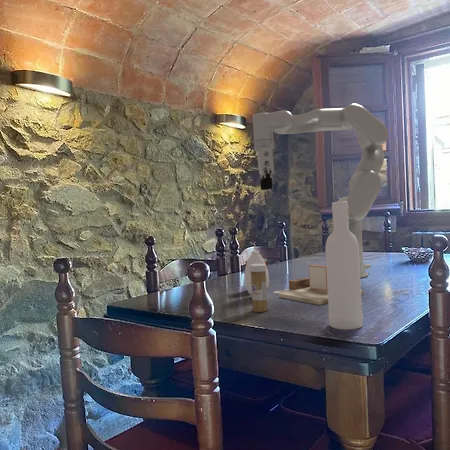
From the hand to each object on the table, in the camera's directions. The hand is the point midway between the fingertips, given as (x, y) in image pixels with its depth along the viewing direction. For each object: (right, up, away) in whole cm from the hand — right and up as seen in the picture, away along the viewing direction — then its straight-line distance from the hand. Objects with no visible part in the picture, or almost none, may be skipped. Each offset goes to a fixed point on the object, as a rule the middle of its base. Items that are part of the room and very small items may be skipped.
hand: (266, 189), depth 177 cm
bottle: (+13, -39, -68) cm, 79 cm away
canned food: (-5, -38, -15) cm, 41 cm away
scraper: (+8, -37, -20) cm, 43 cm away
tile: (+15, -35, -27) cm, 47 cm away
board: (+15, -37, -31) cm, 51 cm away
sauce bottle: (-6, -38, -28) cm, 48 cm away
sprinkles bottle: (-6, -39, -47) cm, 61 cm away
